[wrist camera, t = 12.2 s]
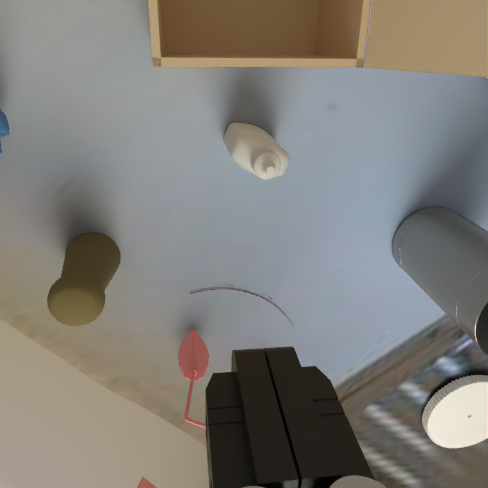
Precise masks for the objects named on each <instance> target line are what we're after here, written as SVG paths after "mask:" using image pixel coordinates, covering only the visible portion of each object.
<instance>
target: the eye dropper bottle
mask: <svg viewBox="0 0 488 488" xmlns="http://www.w3.org/2000/svg"><path fill="white" fill-rule="evenodd" d="M224 143H225V145H226V147H227V149H228V151H229V154H230V156H231V157H232V159H233V160H234V161H235V162H236V163H237V164H238V165H240V166H241V167H242V168H244V169H245V170H247V171H249V172H251V173H253V174H256V175H257V176H258V177H259V178H262V179H266V180H268V179H272V178H273V177H278V176H281V175H283V174H284V172H285V171H286V168H287V166H288V164H289V161H290V158H289V155H288V154H287V152H286V151H285V150H284V149H283V148H282V147H281V146H280V145H279V144H278V143H277V142H276V140H275V139H274V138H273V137H272V136H270V135H269V134H268V133H267V132H265V131H264V130H262V129H261V128H259V127H257V126H254V125H251V124H246V123H232V124H230V125H229V126H228V128H227V131H226V133H225V136H224Z"/></svg>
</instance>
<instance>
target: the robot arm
mask: <svg viewBox="0 0 488 488" xmlns="http://www.w3.org/2000/svg"><path fill="white" fill-rule="evenodd" d="M392 252H393V256H394V259H395V261H396V262H397V263H398V265H399V266H400V267H401V268H402V269H403V270H404V271H405V272H406V273H407V274H408V275H409V276H410V277H411V278H412V279H413V280H414V281H415V282H416V283H417V284H418V285H419V286H420V287H421V288H422V289H423V291H424V292H425V293H426V294H427V295H428V296H429V297H430V298H431V299H432V300H433V301H434V302H435V303H436V304H437V305H438V306H439V307H440V308H441V309H442V310H443V311H444V312H445V313H446V314H447V315H448V316H449V317H450V318H451V319H452V320H453V321H454V322H455V323H456V324H457V325H458V326H459V327H460V328H461V329H462V330H463V331H464V332H465V333H466V334H467V335H468V336H469V337H470V338H471V339H472V340H473V341H474V342H475V343H476V344H477V345H478V346H479V347H480V348H481V349H482V351H483V352H484V353H485V354H487V355H488V231H486V230H485V229H483V228H482V227H480V226H478V225H477V224H475V223H473V222H472V221H470V220H469V219H467V218H465V217H459V216H458V215H456V214H455V213H453V212H451V211H450V210H447V209H445V208H441V207H429V208H424V209H421V210H419V211H417V212H415V213H413V214H412V215H410V216H409V217H408V218H407V219H406V220H405V221H404V222H403V223H402V224H401V225H400V227H399V228H398V230H397V232H396V234H395V236H394V239H393V243H392ZM206 446H207V461H208V474H209V488H386V487H385V486H384V485H382V484H381V483H379V482H377V481H376V480H375V478H374V476H373V474H372V473H371V470H370V468H369V466H368V464H367V461H366V459H365V457H364V455H363V453H362V450H361V448H360V446H359V444H358V441H357V439H356V437H355V435H354V432H353V430H352V428H351V426H350V423H349V421H348V419H347V417H346V416H345V412H344V410H343V408H342V406H341V403H340V401H338V397H337V394H336V392H335V390H334V388H333V385H332V383H331V381H330V380H329V379H328V378H327V377H326V376H325V375H324V374H323V373H322V372H321V371H320V370H319V369H318V368H317V367H316V366H312V367H301V365H300V362H299V360H298V357H297V354H296V352H295V349H294V348H293V347H276V348H264V349H246V350H233V351H232V371H231V372H225V373H213V375H212V377H211V379H210V381H209V383H208V386H207V388H206Z"/></svg>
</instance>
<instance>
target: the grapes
mask: <svg viewBox="0 0 488 488" xmlns="http://www.w3.org/2000/svg"><path fill="white" fill-rule="evenodd" d="M5 135H9V126H8V121H7V118H6V115H5V114H4V113H3V112H2V111H1V109H0V137H1V136H5ZM0 153H2V150H1V143H0Z"/></svg>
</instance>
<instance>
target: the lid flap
mask: <svg viewBox="0 0 488 488" xmlns="http://www.w3.org/2000/svg"><path fill="white" fill-rule="evenodd" d="M365 68H376V69H389V70H402V71H415V72H428V73H440V74H453V75H466V76H479V77H488V0H373V3H372V12H371V20H370V28H369V37H368V45H367V53H366V62H365Z"/></svg>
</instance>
